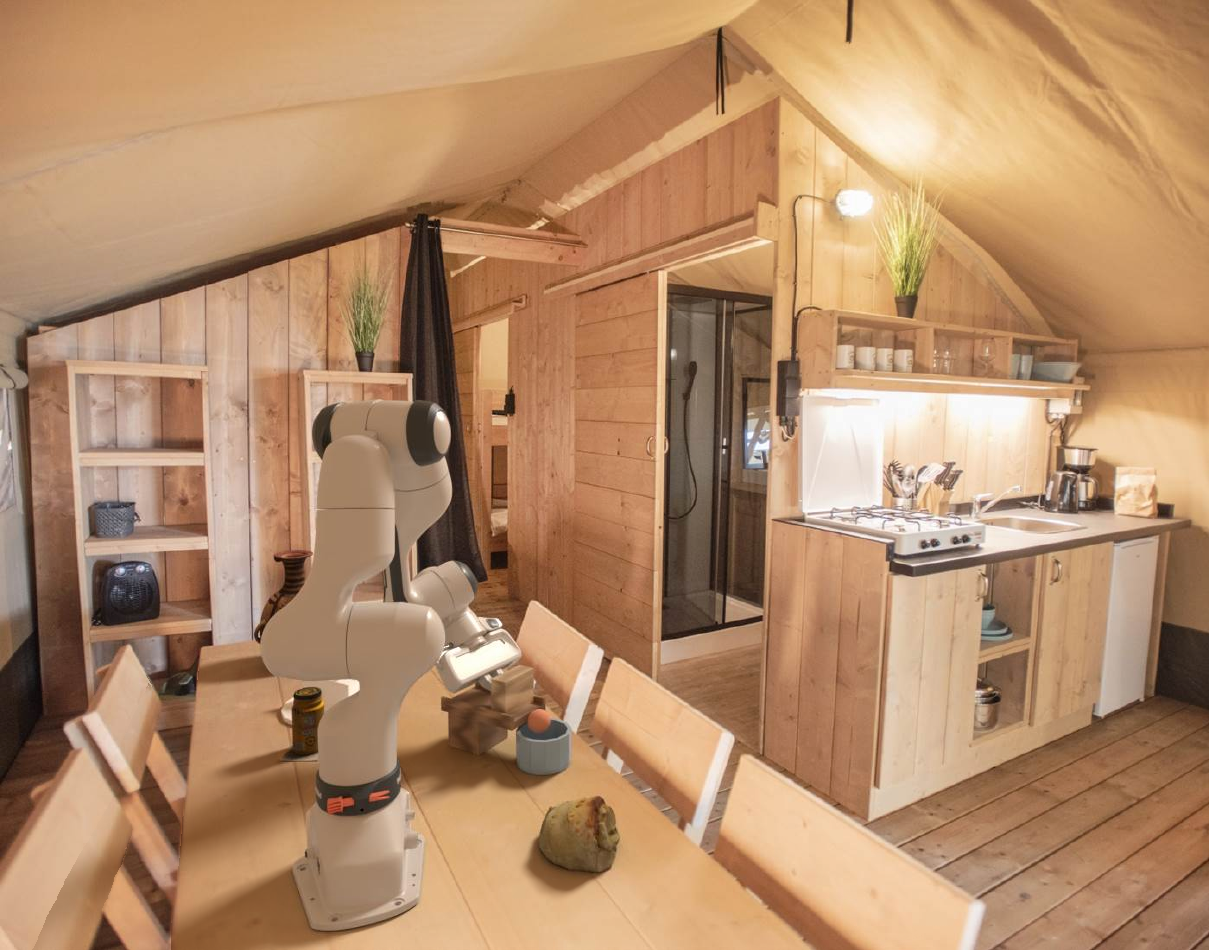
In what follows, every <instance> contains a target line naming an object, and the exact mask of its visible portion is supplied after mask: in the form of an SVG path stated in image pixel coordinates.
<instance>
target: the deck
mask: <svg viewBox="0 0 1209 950" xmlns="http://www.w3.org/2000/svg"><path fill="white" fill-rule="evenodd" d="M440 707H441V708H440V710H441V711H442V712H446V713H447V723H448V726H447V727H448V729H447V730H448V734H447V735H448V747H451V748H454V749H458V750H461V751H463V752H467V753H470V754H474V755H477V756H480V755H482V754H484V753H485V752H487V751H488V750H490V749H492V748H493V747H495V746H497V745H498V744H500V743H501V742H500V741H502V742H504V741H505V740H506V739H508V738H509V735H508V734H509V733H508V731H511V732H512V731H514V730H515V729H516V730H517V728H518V727H519V726H521V725H523V724H524V723H526V722H527V721H528V717H529V715H530V713H531V712H532V711H534V710H536V709H542V710H545V711H546V697H545V696H540V695H538V694H534V702H532V703H531V704H529V705H527V706H525V707H524V708H522V709H520V710H519V711H517V712H515V713H513V714H512V715H509V714H505V713H502V712H498V711H495V710H491V691H489V690H487V689H486V688H484V687H482V686H481V684H480V683H479V682H477V683H475V684H474V686H473V687H471V688H470V689H467V690H465V691H463V692H461V693H459V694H457V695H455V696H452V697H451V698H450V697H446V696H441V697H440ZM507 737H508V738H507ZM504 739H505V740H504ZM499 742H500V743H499ZM496 744H497V745H496Z"/></svg>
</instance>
